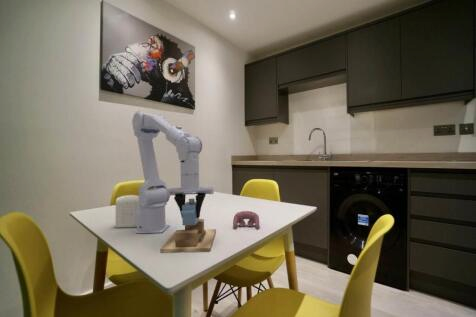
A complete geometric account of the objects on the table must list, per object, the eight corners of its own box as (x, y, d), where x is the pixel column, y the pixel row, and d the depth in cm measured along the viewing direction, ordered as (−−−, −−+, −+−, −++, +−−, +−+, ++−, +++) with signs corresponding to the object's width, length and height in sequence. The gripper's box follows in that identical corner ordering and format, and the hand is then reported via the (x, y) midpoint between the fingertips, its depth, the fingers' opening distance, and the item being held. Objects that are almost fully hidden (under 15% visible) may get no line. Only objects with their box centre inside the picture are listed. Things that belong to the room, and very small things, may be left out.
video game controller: (259, 230, 82) (259, 212, 85) (259, 228, 78) (259, 209, 81) (233, 230, 83) (234, 212, 86) (232, 228, 78) (232, 209, 82)
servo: (180, 227, 64) (180, 203, 64) (188, 218, 74) (188, 197, 74) (194, 227, 64) (193, 202, 64) (200, 218, 74) (199, 196, 74)
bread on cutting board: (160, 252, 61) (159, 234, 61) (176, 232, 77) (176, 218, 77) (210, 251, 61) (209, 233, 61) (215, 232, 77) (215, 217, 77)
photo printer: (145, 224, 88) (144, 193, 88) (141, 227, 84) (140, 195, 84) (119, 225, 87) (118, 194, 87) (113, 228, 83) (113, 196, 83)
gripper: (162, 176, 64) (163, 221, 64) (211, 174, 65) (212, 220, 65) (170, 174, 72) (171, 215, 72) (213, 173, 72) (214, 214, 72)
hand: (190, 217), depth 68 cm, fingers closed on servo, 4 cm apart
